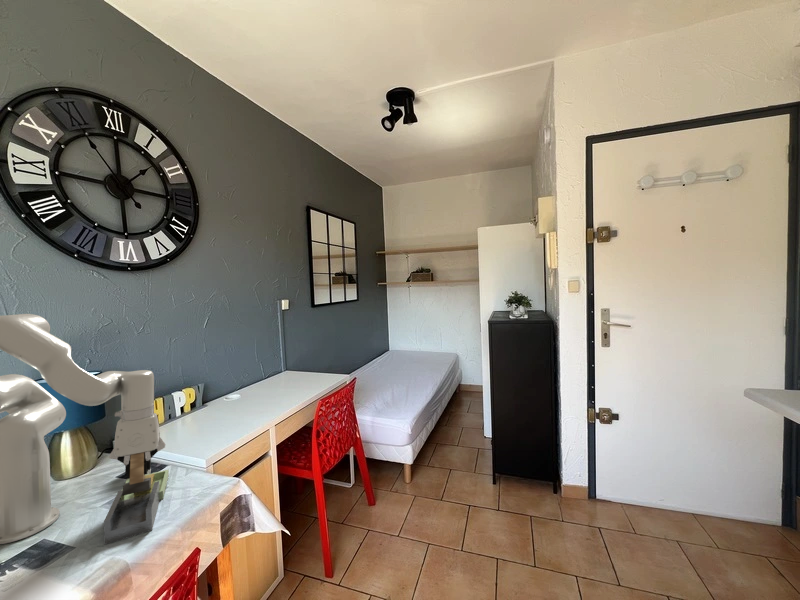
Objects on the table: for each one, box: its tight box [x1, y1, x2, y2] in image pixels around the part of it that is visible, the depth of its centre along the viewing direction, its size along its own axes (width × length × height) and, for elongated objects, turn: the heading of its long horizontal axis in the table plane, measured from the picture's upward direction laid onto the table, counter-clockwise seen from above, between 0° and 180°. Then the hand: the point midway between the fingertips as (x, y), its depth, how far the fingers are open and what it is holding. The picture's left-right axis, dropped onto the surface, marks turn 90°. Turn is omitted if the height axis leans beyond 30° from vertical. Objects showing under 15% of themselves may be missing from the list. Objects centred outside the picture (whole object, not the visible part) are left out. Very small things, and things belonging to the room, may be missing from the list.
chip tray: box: [121, 469, 170, 501], centre depth 100 cm, size 11×14×2 cm
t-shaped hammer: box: [122, 452, 151, 496], centre depth 94 cm, size 6×3×10 cm, turn 121°
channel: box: [103, 481, 161, 545], centre depth 87 cm, size 9×14×6 cm
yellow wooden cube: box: [134, 480, 153, 497], centre depth 97 cm, size 4×4×4 cm
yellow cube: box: [145, 473, 155, 485], centre depth 100 cm, size 4×4×4 cm
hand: (138, 473), depth 95 cm, fingers closed on t-shaped hammer, 3 cm apart
